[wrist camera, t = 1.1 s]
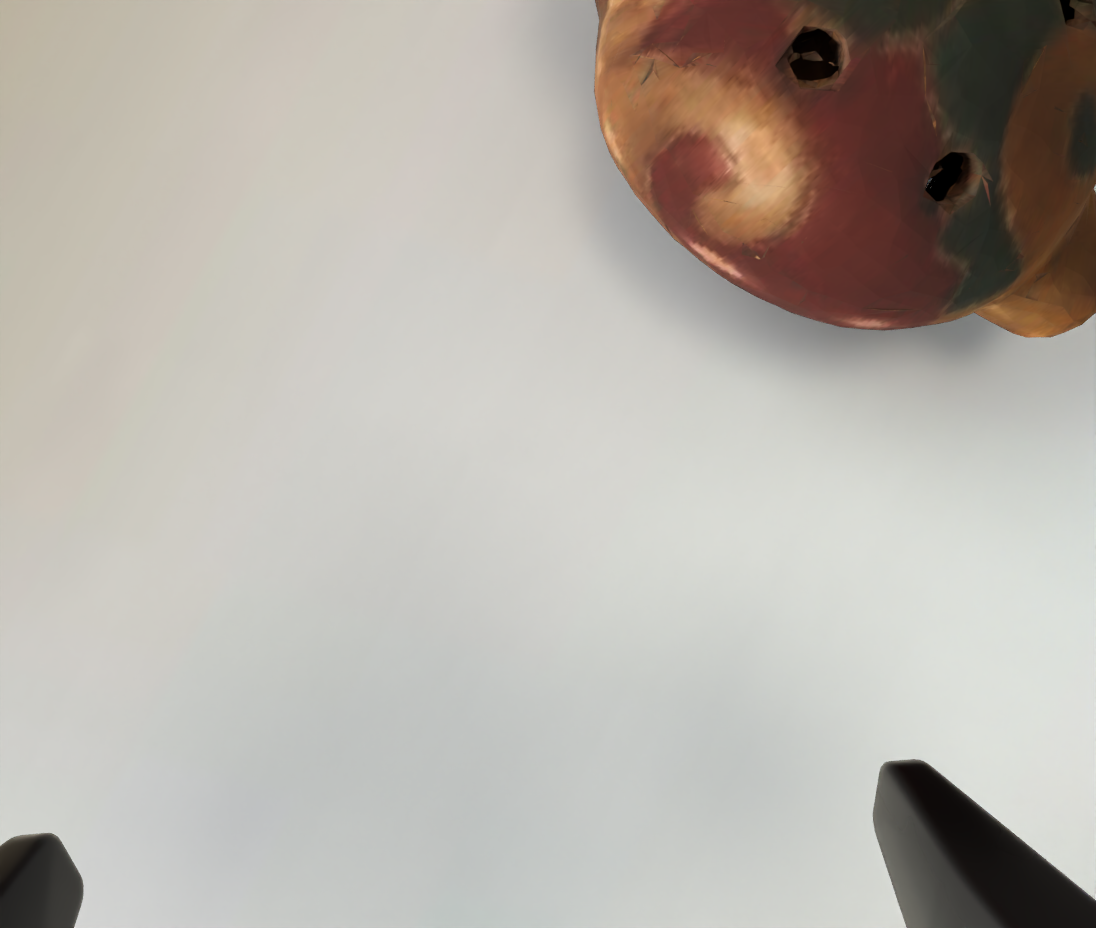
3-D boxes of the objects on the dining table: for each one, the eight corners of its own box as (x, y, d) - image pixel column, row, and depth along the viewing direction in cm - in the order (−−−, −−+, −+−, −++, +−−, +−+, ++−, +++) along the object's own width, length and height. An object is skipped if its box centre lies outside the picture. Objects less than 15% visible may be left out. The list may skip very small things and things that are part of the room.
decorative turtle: (619, -192, 19) (714, -619, 11) (1085, 146, 21) (1458, -20, 13) (419, 140, 19) (373, -50, 11) (897, 449, 21) (1151, 472, 13)
